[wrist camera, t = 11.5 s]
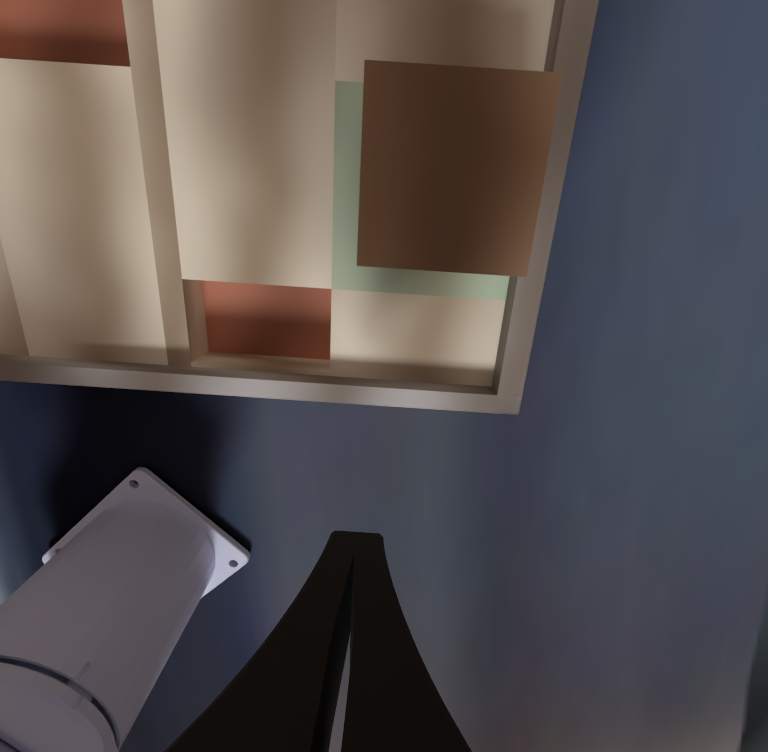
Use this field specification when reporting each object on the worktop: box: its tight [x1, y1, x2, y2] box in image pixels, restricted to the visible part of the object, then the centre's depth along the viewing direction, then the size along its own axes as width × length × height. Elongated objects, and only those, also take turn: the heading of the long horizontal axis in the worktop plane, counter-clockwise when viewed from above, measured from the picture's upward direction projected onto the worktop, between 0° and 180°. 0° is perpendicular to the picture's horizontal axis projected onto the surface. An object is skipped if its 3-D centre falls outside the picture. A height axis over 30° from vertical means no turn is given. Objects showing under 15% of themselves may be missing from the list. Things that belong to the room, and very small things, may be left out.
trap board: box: [0, 0, 599, 415], centre depth 15 cm, size 31×16×3 cm, turn 86°
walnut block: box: [357, 60, 563, 277], centre depth 12 cm, size 5×5×4 cm
